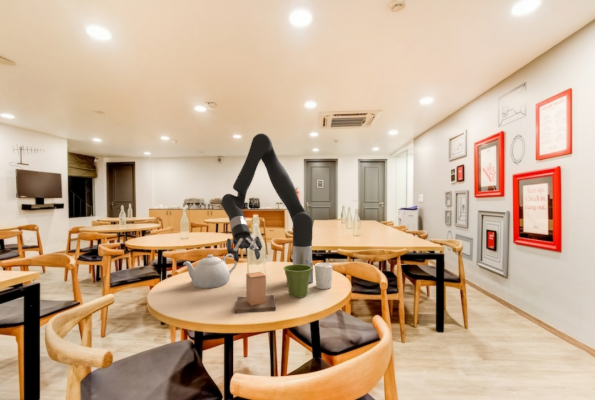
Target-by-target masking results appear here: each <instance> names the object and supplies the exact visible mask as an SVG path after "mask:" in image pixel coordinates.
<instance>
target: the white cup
mask: <svg viewBox="0 0 595 400" xmlns="http://www.w3.org/2000/svg"><path fill="white" fill-rule="evenodd" d="M314 269H315V270H314V274H315V287H316V288H317V289H319V288H320V289H319V290H329V289H328V288H330V289H331V288H332V281H333V264H332V263H330V262H317V263H315V264H314Z"/></svg>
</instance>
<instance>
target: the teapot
mask: <svg viewBox="0 0 595 400" xmlns="http://www.w3.org/2000/svg"><path fill="white" fill-rule="evenodd" d="M228 257H231V258H233V259H234V257H233V254H232V253H230V254H228V253H227V254H226V255H225V256H224V257H223V259H222V258H219V257H217V256H214V254H207V256H206V257H204V258H202V259H200V261H199V260H198V262H197V263H196V265H195V266H193V264H192V263H191V261H189V260H185V261H184V262H183V263H182V265H183V266H187V271H188V275H189V277H190V279H191V283H192V285H193V286H194V287H195V288H198V289H213V288H218V287H222V286H224V285H226V284H227V283H229V280H230V276H231V275H232V274H231V273H232V272H233V271H234V270H235V269H236V267H237V265H238V262H236V261H235V260H234V265H233V266H232V267H231V269H230V268H229V267H228V265H227V262H226V259H227V258H228Z"/></svg>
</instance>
